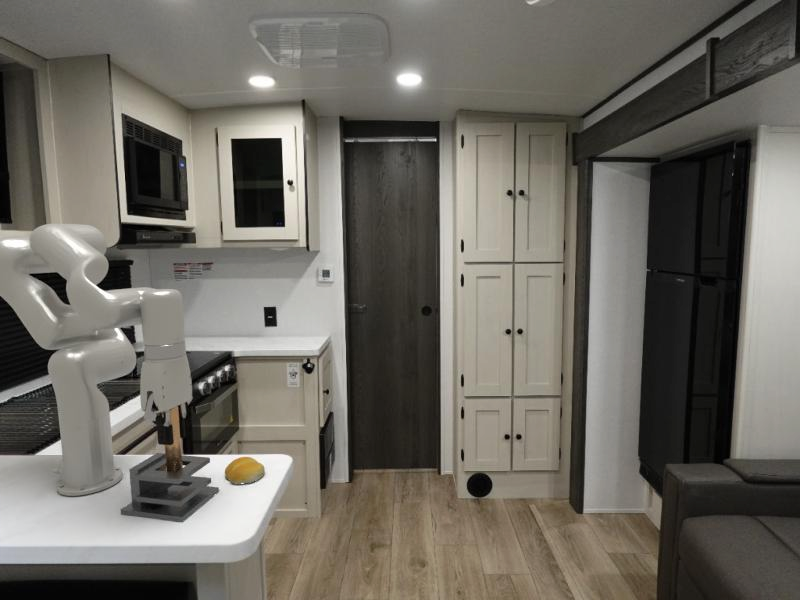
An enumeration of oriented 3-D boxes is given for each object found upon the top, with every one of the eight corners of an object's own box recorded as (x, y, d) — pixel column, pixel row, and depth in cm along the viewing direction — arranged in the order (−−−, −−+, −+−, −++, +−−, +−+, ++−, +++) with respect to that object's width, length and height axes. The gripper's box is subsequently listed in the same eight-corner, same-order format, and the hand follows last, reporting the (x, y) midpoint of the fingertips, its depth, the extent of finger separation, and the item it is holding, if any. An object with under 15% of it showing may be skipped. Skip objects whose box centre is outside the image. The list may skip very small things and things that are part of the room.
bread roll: (236, 489, 109) (235, 472, 108) (220, 476, 115) (219, 459, 115) (271, 477, 114) (271, 460, 113) (254, 465, 121) (253, 449, 120)
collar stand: (120, 514, 99) (117, 473, 98) (162, 485, 110) (159, 448, 110) (182, 522, 96) (179, 479, 95) (218, 491, 107) (216, 453, 106)
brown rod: (163, 481, 101) (156, 384, 99) (174, 474, 104) (166, 380, 102) (177, 482, 100) (169, 385, 98) (187, 475, 103) (180, 381, 101)
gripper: (176, 343, 108) (182, 425, 110) (117, 360, 92) (125, 456, 94) (206, 343, 106) (212, 427, 108) (152, 361, 91) (160, 458, 93)
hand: (172, 439), depth 101 cm, fingers closed on brown rod, 3 cm apart
